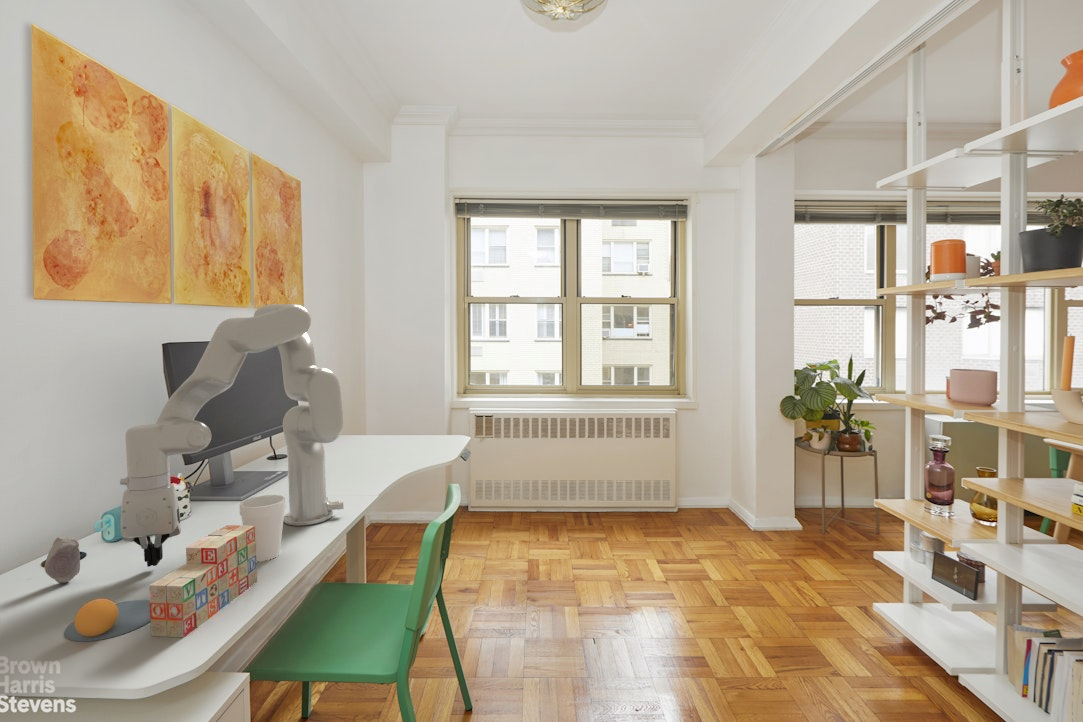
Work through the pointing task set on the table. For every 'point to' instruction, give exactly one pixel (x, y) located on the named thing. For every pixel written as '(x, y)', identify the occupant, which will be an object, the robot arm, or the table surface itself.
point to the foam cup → (265, 523)
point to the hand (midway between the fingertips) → (153, 563)
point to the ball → (96, 617)
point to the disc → (118, 621)
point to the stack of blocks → (204, 581)
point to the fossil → (63, 560)
